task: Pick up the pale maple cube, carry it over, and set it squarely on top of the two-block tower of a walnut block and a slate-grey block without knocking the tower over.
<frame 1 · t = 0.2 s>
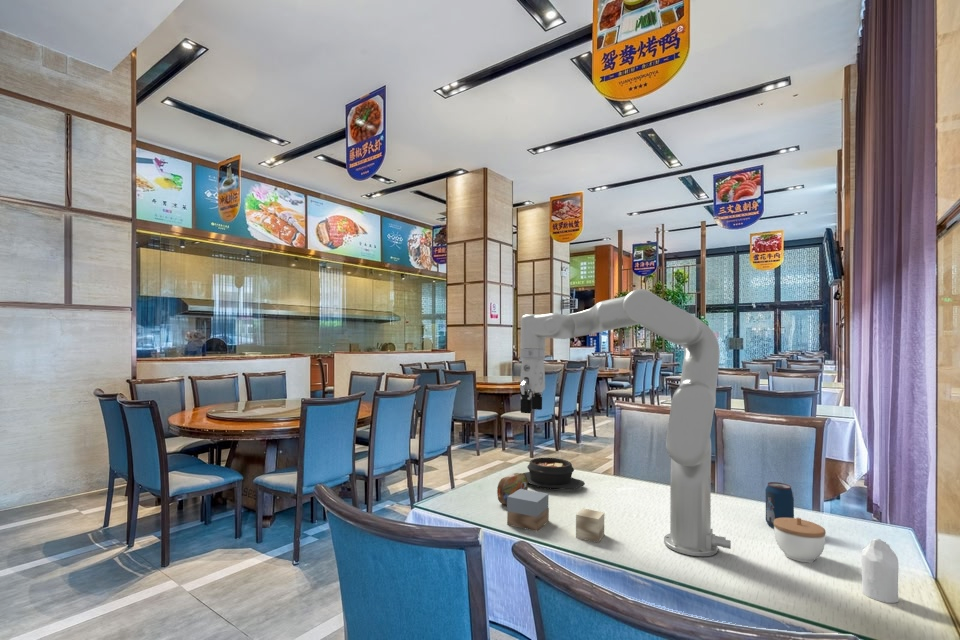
hand: (531, 411, 146), 31 cm above the table, tool pointing down, fingers open, 9 cm apart
maple cube: (590, 536, 129), on the table
casserole: (550, 485, 175), on the table
walnut block: (528, 523, 137), on the table
tin: (512, 501, 156), on the table
white plastic bottle: (880, 597, 100), on the table
soda can: (779, 527, 138), on the table
slate block: (527, 509, 138), point 4 cm above the table
lidded jar: (799, 557, 119), on the table
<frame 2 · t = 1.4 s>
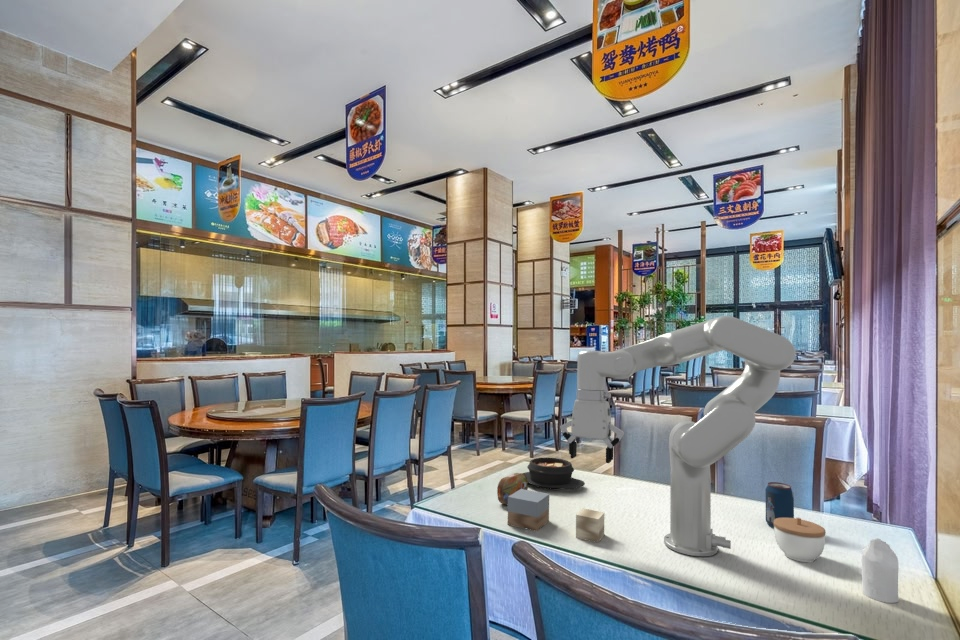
hand: (590, 459, 130), 20 cm above the table, tool pointing down, fingers open, 9 cm apart
walnut block: (528, 523, 137), on the table, touching slate block
slate block: (528, 509, 137), point 4 cm above the table, touching walnut block
everything else where it was.
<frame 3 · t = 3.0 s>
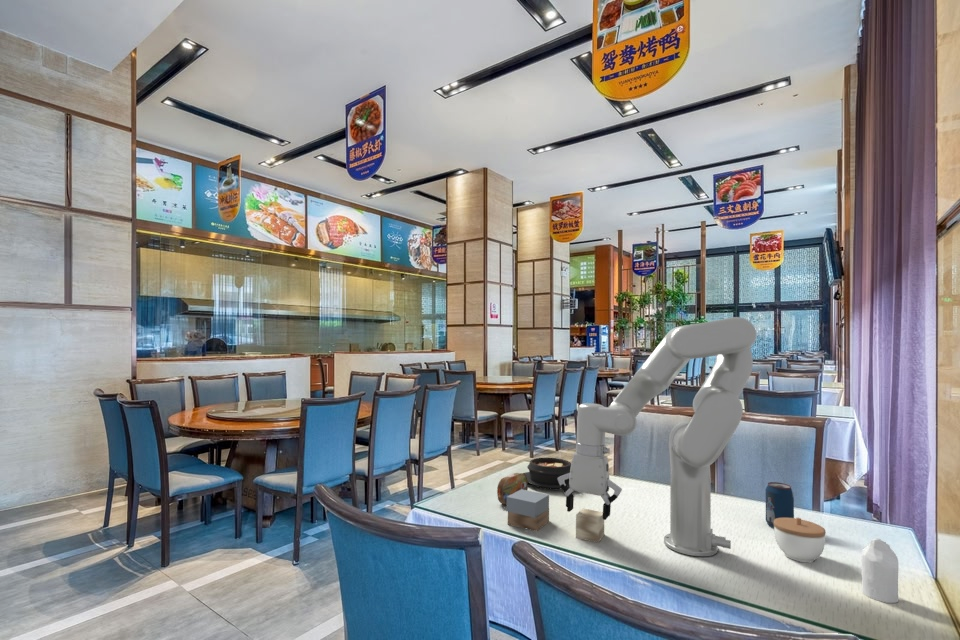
hand: (587, 514, 129), 6 cm above the table, tool pointing down, fingers open, 9 cm apart
walnut block: (528, 524, 137), on the table
slate block: (527, 509, 138), point 4 cm above the table
everything else where it was.
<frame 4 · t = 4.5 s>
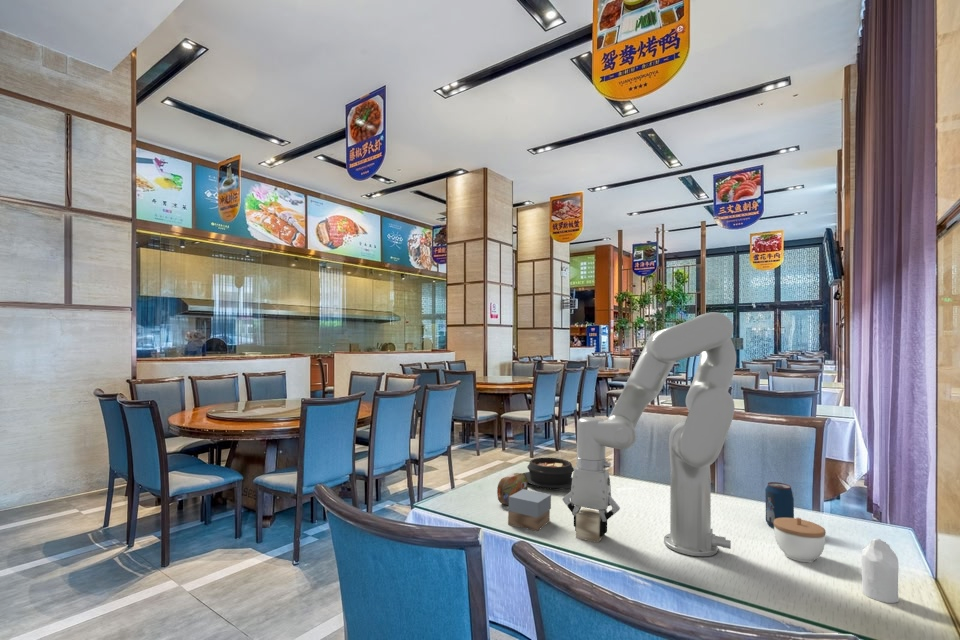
hand: (590, 531, 129), 1 cm above the table, tool pointing down, fingers closed on maple cube, 6 cm apart
maple cube: (590, 536, 129), on the table, touching gripper
walnut block: (529, 523, 138), on the table, touching slate block
slate block: (529, 509, 138), point 4 cm above the table, touching walnut block
everything else where it was.
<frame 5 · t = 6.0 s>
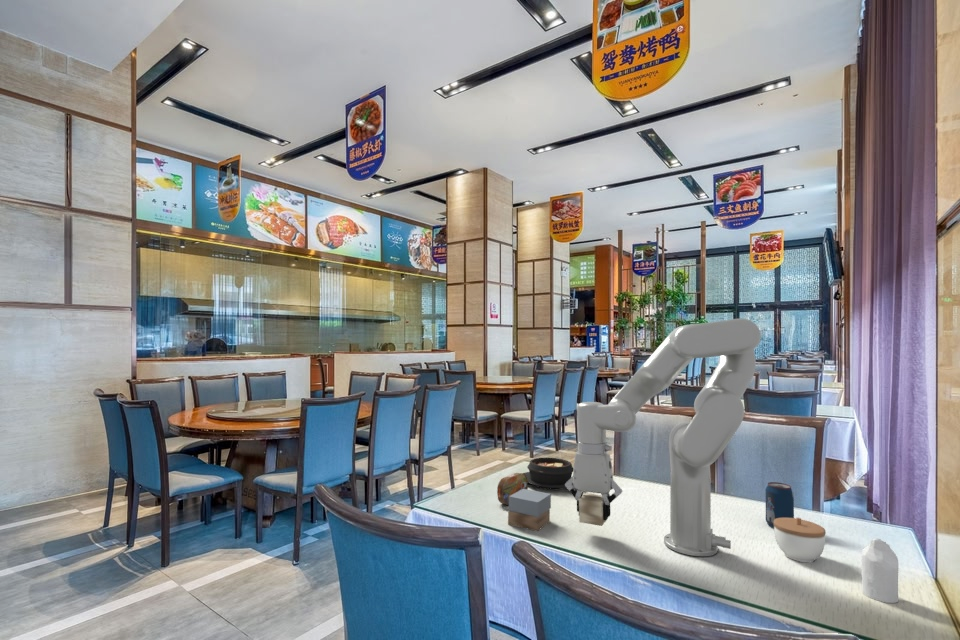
hand: (593, 515, 129), 5 cm above the table, tool pointing down, fingers closed on maple cube, 6 cm apart
maple cube: (593, 520, 129), point 4 cm above the table, touching gripper
everything else where it was.
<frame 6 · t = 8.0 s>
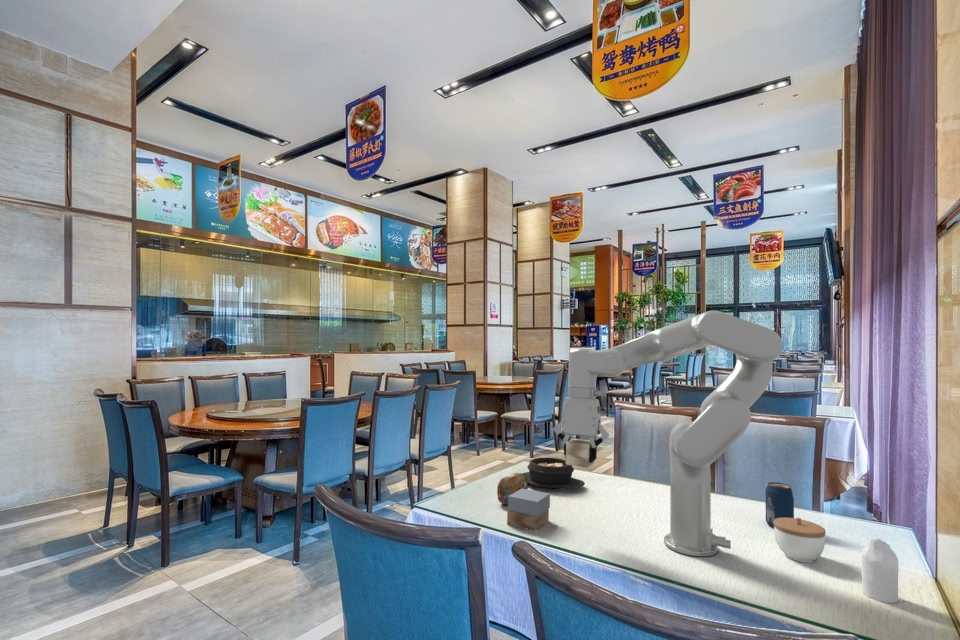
hand: (579, 459, 131), 20 cm above the table, tool pointing down, fingers closed on maple cube, 6 cm apart
maple cube: (579, 463, 131), point 19 cm above the table, touching gripper
everything else where it was.
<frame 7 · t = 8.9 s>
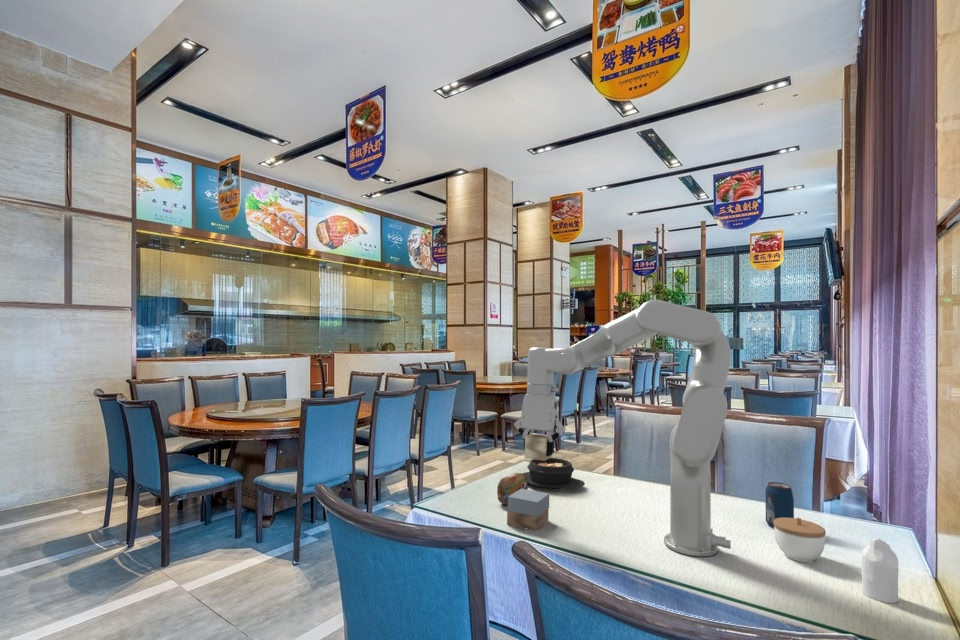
hand: (538, 453, 137), 20 cm above the table, tool pointing down, fingers closed on maple cube, 6 cm apart
maple cube: (538, 457, 137), point 19 cm above the table, touching gripper
everything else where it was.
when the fingers open (10 cm above the table, at t = 14.2 s): maple cube drops 1 cm, resting on slate block.
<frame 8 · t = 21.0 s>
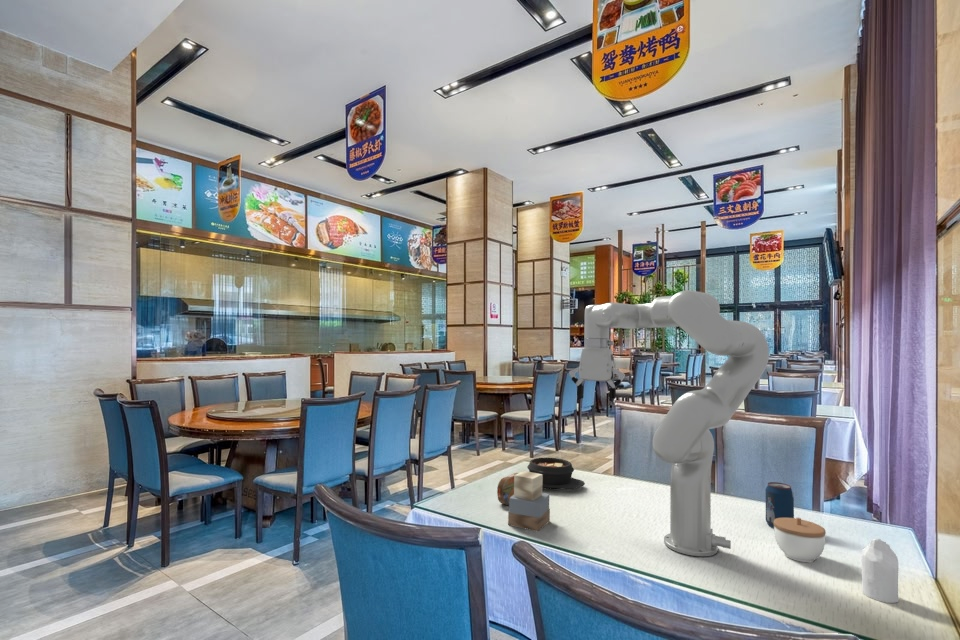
hand: (596, 399, 149), 34 cm above the table, tool pointing down, fingers open, 9 cm apart
maple cube: (528, 496, 138), point 8 cm above the table, touching slate block
slate block: (529, 510, 137), point 4 cm above the table, touching maple cube, walnut block
everything else where it was.
at the end: maple cube 0.5 cm off-centre on the walnut block, point 8.0 cm above the walnut block's base; maple cube tilted 0°; slate block 0.0 cm off-centre on the walnut block, point 4.0 cm above the walnut block's base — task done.
